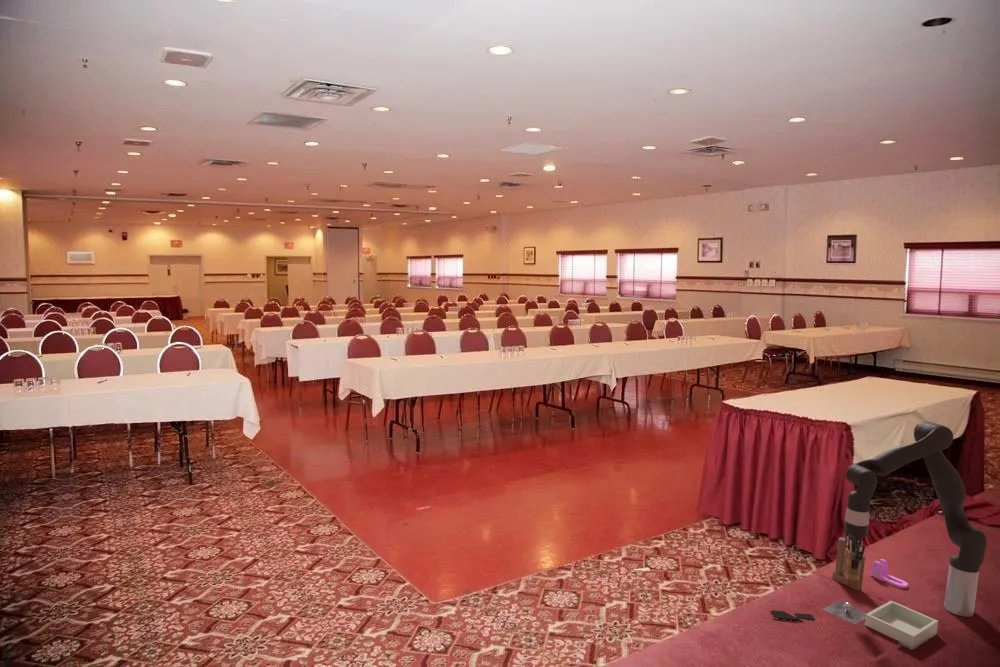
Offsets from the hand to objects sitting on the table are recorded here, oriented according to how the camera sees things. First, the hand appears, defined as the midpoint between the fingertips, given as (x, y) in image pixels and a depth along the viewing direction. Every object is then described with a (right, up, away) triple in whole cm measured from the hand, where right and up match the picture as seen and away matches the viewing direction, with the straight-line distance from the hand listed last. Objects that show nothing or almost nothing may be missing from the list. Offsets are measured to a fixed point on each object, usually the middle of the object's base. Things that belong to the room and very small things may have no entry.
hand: (852, 565), depth 248 cm
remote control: (-22, -19, -1) cm, 29 cm away
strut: (0, -4, +1) cm, 4 cm away
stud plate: (-1, -19, +3) cm, 19 cm away
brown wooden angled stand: (+11, -17, +25) cm, 32 cm away
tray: (+13, -21, -7) cm, 26 cm away
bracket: (+31, -17, +29) cm, 46 cm away
